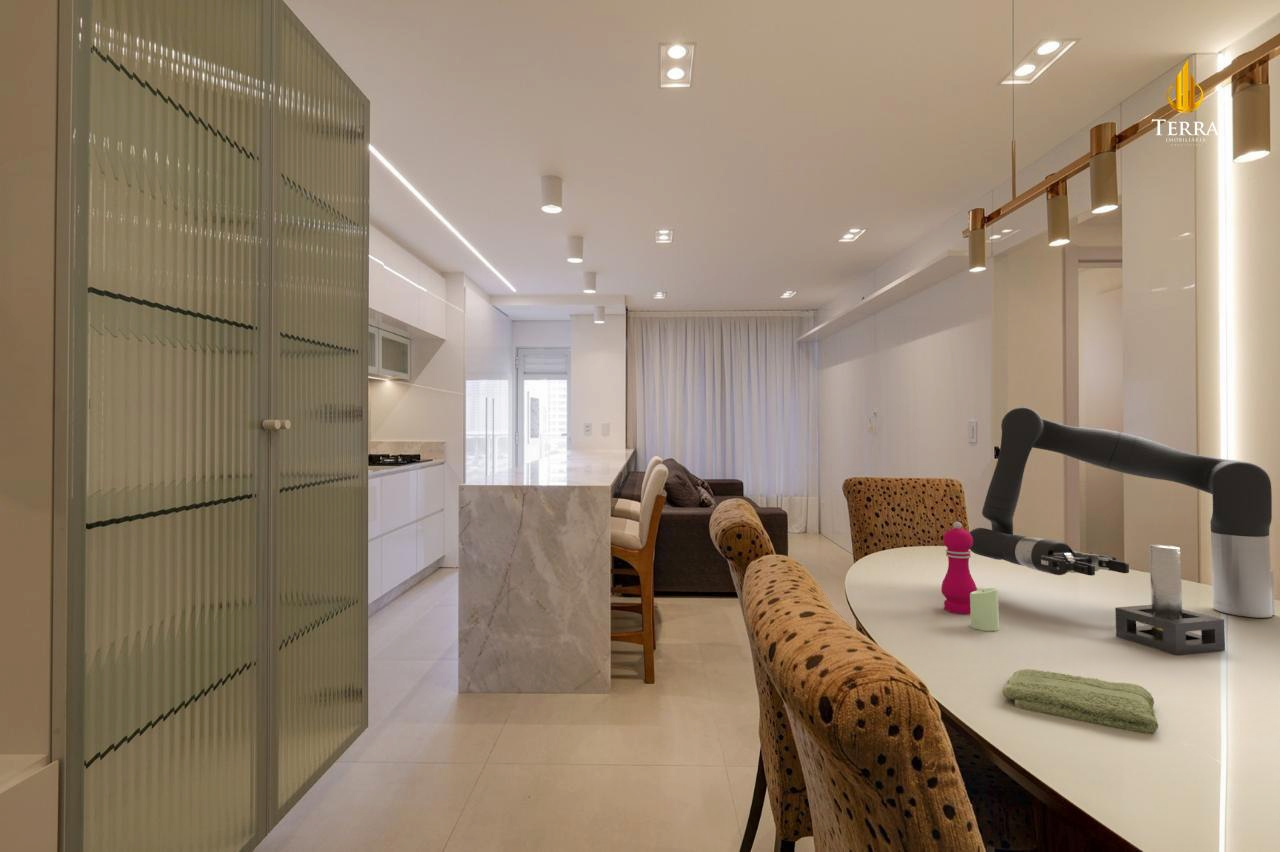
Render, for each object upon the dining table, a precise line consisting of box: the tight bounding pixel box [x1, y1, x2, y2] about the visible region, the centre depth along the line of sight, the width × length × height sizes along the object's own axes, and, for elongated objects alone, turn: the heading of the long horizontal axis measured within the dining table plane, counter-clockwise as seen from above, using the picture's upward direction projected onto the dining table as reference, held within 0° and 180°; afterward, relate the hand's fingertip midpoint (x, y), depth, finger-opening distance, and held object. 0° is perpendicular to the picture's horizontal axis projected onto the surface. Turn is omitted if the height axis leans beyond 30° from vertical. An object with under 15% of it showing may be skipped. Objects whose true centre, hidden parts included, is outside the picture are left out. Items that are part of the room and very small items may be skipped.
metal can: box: [1149, 544, 1183, 639], centre depth 114 cm, size 5×5×18 cm
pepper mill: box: [940, 521, 978, 615], centre depth 137 cm, size 7×7×20 cm
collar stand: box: [1114, 604, 1226, 656], centre depth 114 cm, size 11×11×6 cm
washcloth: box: [1002, 668, 1159, 734], centre depth 88 cm, size 13×18×3 cm
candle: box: [970, 587, 1000, 632], centre depth 125 cm, size 5×5×8 cm
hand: (1110, 569), depth 125 cm, fingers open, 8 cm apart
